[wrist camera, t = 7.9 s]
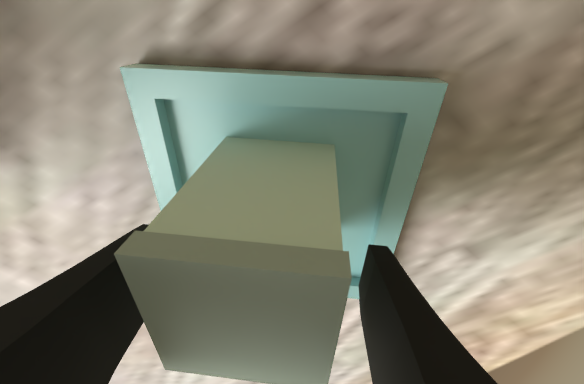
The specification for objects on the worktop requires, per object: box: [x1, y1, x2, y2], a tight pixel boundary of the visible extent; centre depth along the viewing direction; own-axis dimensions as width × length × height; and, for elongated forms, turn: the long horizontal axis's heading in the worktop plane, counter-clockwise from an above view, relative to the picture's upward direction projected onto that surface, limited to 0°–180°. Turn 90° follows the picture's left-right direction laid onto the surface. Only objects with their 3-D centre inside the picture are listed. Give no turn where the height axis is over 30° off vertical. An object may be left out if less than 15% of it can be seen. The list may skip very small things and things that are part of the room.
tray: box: [120, 64, 448, 299], centre depth 12 cm, size 11×11×1 cm
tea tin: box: [114, 137, 352, 384], centre depth 9 cm, size 5×5×7 cm
